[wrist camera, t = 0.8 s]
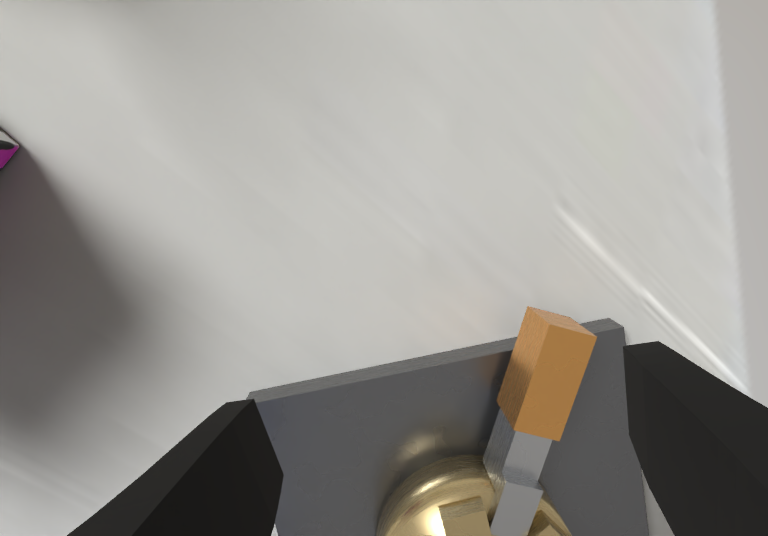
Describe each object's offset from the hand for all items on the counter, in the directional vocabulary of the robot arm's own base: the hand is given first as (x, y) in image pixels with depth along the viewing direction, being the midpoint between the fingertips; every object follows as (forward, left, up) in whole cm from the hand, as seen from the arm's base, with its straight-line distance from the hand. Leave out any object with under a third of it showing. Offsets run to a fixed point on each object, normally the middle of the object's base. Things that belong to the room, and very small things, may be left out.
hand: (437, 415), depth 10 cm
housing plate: (-12, -7, -15) cm, 20 cm away
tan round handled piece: (-8, -7, -13) cm, 17 cm away
